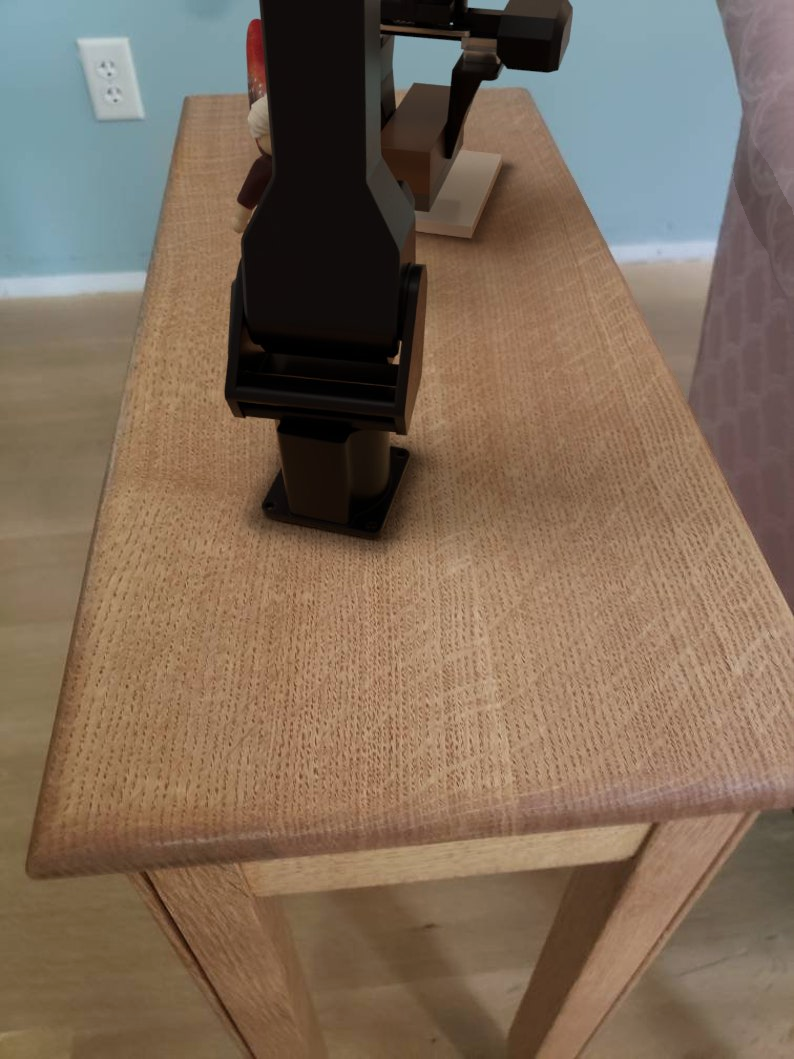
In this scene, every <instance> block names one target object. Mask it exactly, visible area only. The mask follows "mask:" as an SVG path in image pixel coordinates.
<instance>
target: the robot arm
mask: <svg viewBox="0 0 794 1059" xmlns="http://www.w3.org/2000/svg"><path fill="white" fill-rule="evenodd" d="M258 2H259V3H258V4H259V17H260V19H261V30H262V42H263V54H264V66H265V79H266V91H267V103H268V116H269V128H270V140H271V152H272V172H273V173H272V177H271V179H270V181H269V183H268V185H267V187H266V189H265V191H264V193H263V195H262V197H261V199H260V201H259V203H258V205H256V207H255V208H254V211H253V212H252V214H251V217H250V219H249V220H248V225H247V227H246V229H245V231H244V232H243V233H242V236H241V238H240V256H241V257H240V259H239V261H238V265H237V269H236V276H235V278H234V279H233V280H232V282H231V284H230V301H229V304H230V305H229V316H228V317H229V319H228V335H227V336H228V337H227V362H226V370H225V371H226V373H225V379H224V380H225V381H224V392H223V394H224V399H225V401H226V404H227V406H228V408H229V409H230V412H231V414H232V416H233V417H234V418H236V419H238V418H239V419H246V418H247V417H248V418H256V419H265V420H274V426H275V433H276V440H277V447H278V453H279V459H280V466H281V467H280V469H279V470H278V472H277V474H276V476H275V478H274V480H273V482H272V484H271V486H270V487H269V490H268V492H267V493H266V495H265V497H264V499H263V501H262V503H261V505H260V507H261V513H262V515H263V516H264V517H266V518H267V519H273V520H277V521H283V522H288V523H293V524H296V525H302V526H307V527H312V528H316V529H321V530H327V531H330V532H331V531H332V532H336V533H341V534H346V535H351V536H356V537H359V538H360V537H361V538H366V539H372V540H373V539H377V538H379V537H381V535H382V534H383V531H384V529H385V526H386V524H387V521H388V518H389V516H390V513H391V511H392V508H393V506H394V503H395V501H396V497H397V495H398V493H399V490H400V487H401V485H402V482H403V480H404V476H405V475H406V471H407V469H408V467H409V464H410V461H411V453H410V451H409V450H408V449H406V448H404V447H400V446H393V445H391V433H395V435H396V436H404V437H407V436H408V435H409V431H410V426H411V422H412V418H413V413H414V411H415V410H414V409H415V405H416V402H417V397H418V393H419V389H420V384H421V380H422V375H423V361H424V347H425V332H426V331H425V329H426V317H427V316H426V315H427V299H428V267H427V264H423V263H417V262H416V261H417V255H416V254H417V249H416V248H417V247H416V246H417V244H416V243H417V241H416V240H417V238H416V236H417V235H416V234H417V231H416V217H415V213H414V209H415V200H414V197H413V195H412V192H411V190H410V188H409V186H408V183H407V182H406V181H405V180H396V179H395V178H394V176H393V174H392V173H391V171H390V169H389V168H388V166H387V164H386V162H385V161H384V159H383V157H382V155H381V132H382V130H383V129H384V127H385V126H386V124H387V123H388V121H389V120H390V118H391V117H392V115H393V113H394V112H395V110H396V109H397V103H396V91H395V88H396V87H395V79H394V78H395V77H394V64H393V62H394V50H395V38H396V37H406V38H419V39H429V40H440V41H453V42H461V43H460V49H461V50H463V51H462V53H461V54H460V56H459V58H458V59H457V61H456V62H455V64H454V66H453V68H452V69H451V75H450V76H451V77H450V85H449V86H450V96H449V106H448V116H447V126H446V137H445V145H446V159H452V157H453V155H454V153H455V150H456V147H457V145H458V142H459V139H460V136H461V133H462V131H463V128H464V129H465V125H466V122H467V119H468V116H469V114H470V112H471V111H470V110H471V108H472V105H473V103H474V100H475V97H476V95H477V93H478V90H479V88H480V86H481V84H482V82H494V81H497V80H498V79H499V77H500V75H501V73H502V71H503V69H504V67H505V68H506V70H511V71H512V70H513V71H515V70H516V71H523V72H524V71H525V72H534V73H535V72H536V73H545V74H548V73H553V72H557V71H559V69H560V66H561V65H562V61H563V59H564V56H565V54H566V51H567V49H568V46H569V43H570V40H571V39H570V38H571V33H572V32H571V31H572V23H573V16H574V7H573V5H572V4H571V2H570V0H508V2H506V5H505V7H504V9H496V8H495V9H494V8H493V9H492V8H481V7H469V0H258ZM398 355H399V360H398V363H394V361H395V359H396V357H397V356H398ZM371 528H372V529H371Z"/></svg>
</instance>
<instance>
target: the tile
mask: <svg viewBox="0 0 794 1059" xmlns="http://www.w3.org/2000/svg"><path fill="white" fill-rule="evenodd" d="M503 158H504V157H503V154H500V153H491V152H485V151H484V152H482V151H473V150H466V149H461V150H460V152H459V154H458V156H457V158H456V160H455V162H454V164H453V166H452V168H451V170H450V172H449V174H448V176H447V178H446V180H445V182H444V184H443V186H442V188H441V190H440V192H439V194H438V196H437V198H436V200H435V202H434V204H433V206H432V208H431V210H430V212H422V211H414V213H415V217H416V232H419V233H425V234H433V235H440V236H441V235H442V236H449V237H457V238H463V239H472V237H473V235H474V233H475V230H476V228H477V226H478V223H479V221H480V219H481V217H482V214H483V212H484V209H485V206H486V204H487V202H488V200H489V198H490V195H491V192H492V191H493V187H494V185H495V183H496V181H497V178H498V176H499V173H500V171H501V168H502V166H503Z"/></svg>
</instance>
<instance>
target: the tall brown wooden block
mask: <svg viewBox="0 0 794 1059" xmlns="http://www.w3.org/2000/svg"><path fill="white" fill-rule="evenodd" d="M450 86H451V85H443V84H434V83H425V82H424V83H420V82H413V83H412V85H411V86H410V88H409V89H408V91H407V92H406V94H405V95H404V97H403V98H402V100H401V101H400V103H399V104H398V106H396V110H395V112H394V113H393V115H392V117H391V118H390V120H389V121H388V123H387V124H386V126H385V127H384V129H383V130H382V132H381V155H382V157H383V159H384V161H385V162H386V164H387V166H388V168H389V169H390V171H391V173H392V174H393V176H394V178H395V179H396V180H405V181H406V182H407V183H408V186H409V188H410V190H411V192H412V195H413V197H414V200H415V209H414V211H422V212H430V210H431V208H432V206H433V204H434V202H435V200H436V198H437V196H438V194H439V192H440V190H441V188H442V186H443V184H444V182H445V180H446V178H447V176H448V174H449V172H450V170H451V168H452V166H453V164H454V162H455V160H456V158H457V156H458V154H459V152H460V150H462V148H463V146H464V137H465V127H464V128H463V131H462V133H461V136H460V139H459V142H458V145H457V147H456V150H455V153H454V155H453V157H452V159H446V145H445V137H446V126H447V116H448V106H449V96H450Z"/></svg>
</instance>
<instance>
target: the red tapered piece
mask: <svg viewBox="0 0 794 1059" xmlns="http://www.w3.org/2000/svg"><path fill="white" fill-rule="evenodd" d="M245 51H246V52H245V53H246V55H245V57H246V75H247V76H246V80H247V98H248V108H249V112H250V111H251V109H252V107H251V105H252V104H254V103H255V102H256V101H257V100H259V99H260V98H262V97H264V96H266V95H267V91H266V79H265V66H264V54H263V42H262V30H261V18H253V19H251V21H250V22H249V24H248V26H247V30H246V40H245ZM254 140H255V143H256V146H257V149H258V151H259V153H260V156H262V155H264V154H265V153H266V152H265V151H264V150H263V149H262V148H261V146H260V144H259V142H258V139H257V138H254Z"/></svg>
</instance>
